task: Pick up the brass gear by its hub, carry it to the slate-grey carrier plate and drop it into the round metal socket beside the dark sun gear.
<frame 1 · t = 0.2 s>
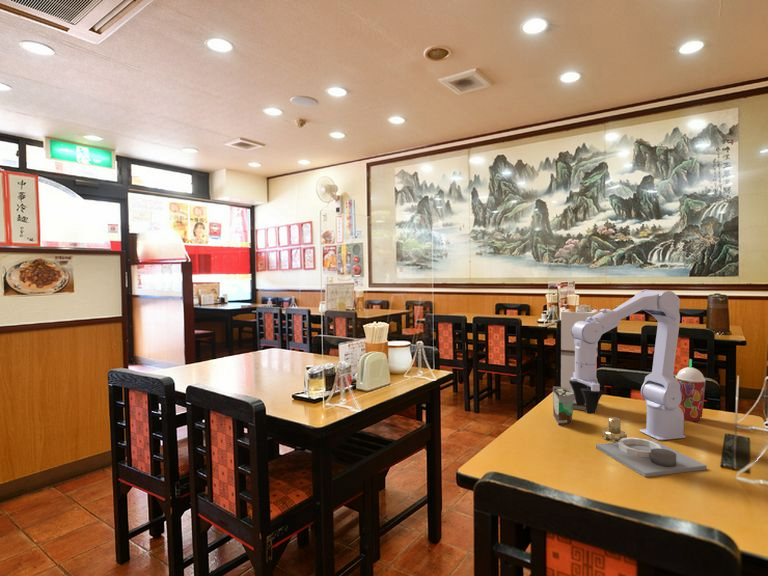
hand: (585, 408, 130), 10 cm above the table, tool pointing down, fingers open, 7 cm apart
white stepped column: (579, 405, 166), on the table
carrier plate: (648, 458, 120), on the table
smoothie: (689, 419, 150), on the table
food container: (565, 421, 149), on the table
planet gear: (614, 438, 134), on the table
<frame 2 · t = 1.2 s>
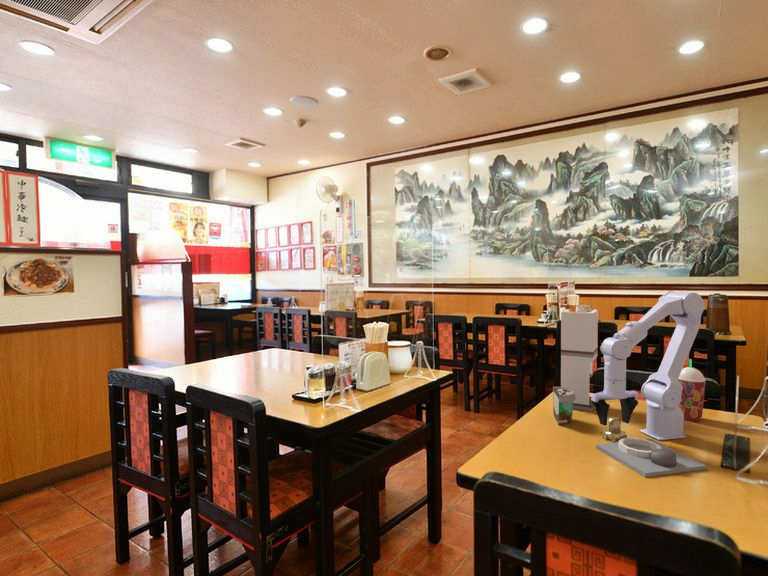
hand: (614, 423, 133), 5 cm above the table, tool pointing down, fingers open, 7 cm apart
nothing on the table moved.
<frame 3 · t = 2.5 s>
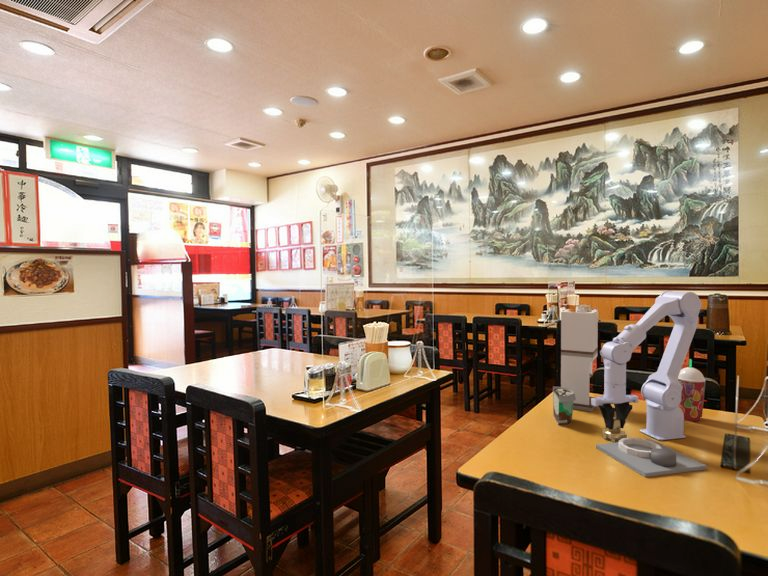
hand: (614, 427, 134), 3 cm above the table, tool pointing down, fingers closed on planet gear, 3 cm apart
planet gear: (614, 438, 134), on the table, touching gripper
everything else where it was.
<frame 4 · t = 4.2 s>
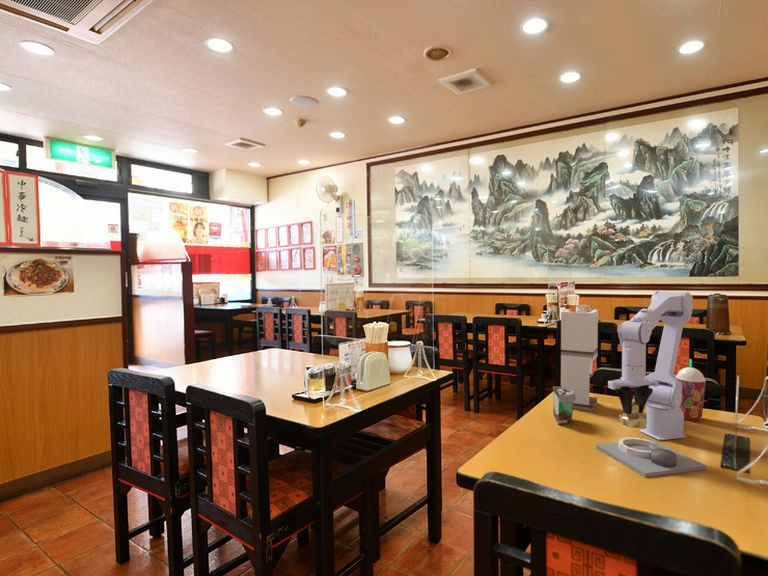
hand: (633, 412, 125), 10 cm above the table, tool pointing down, fingers closed on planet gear, 3 cm apart
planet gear: (632, 424, 125), point 7 cm above the table, touching gripper
everything else where it was.
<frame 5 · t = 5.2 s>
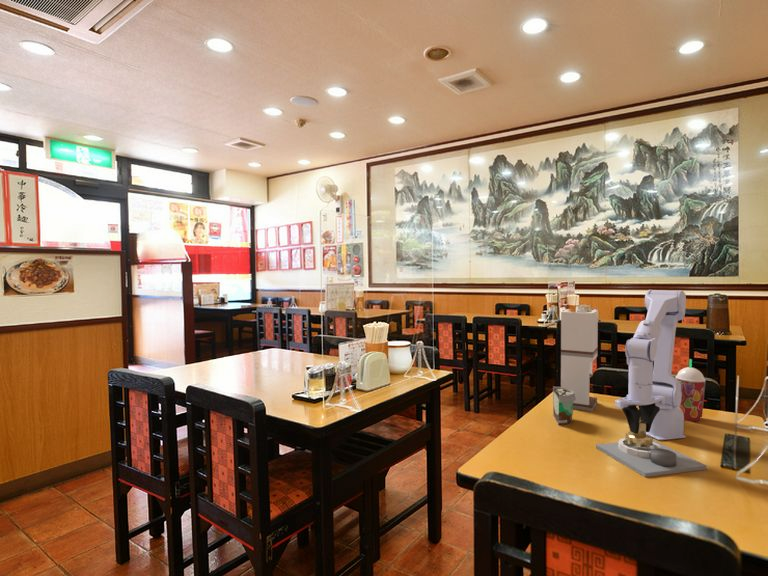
hand: (639, 431, 122), 6 cm above the table, tool pointing down, fingers closed on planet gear, 3 cm apart
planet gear: (638, 442, 123), point 3 cm above the table, touching gripper
everything else where it was.
when the fingers open (6 cm above the table, at t = 6.0 s): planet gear drops 1 cm, resting on carrier plate.
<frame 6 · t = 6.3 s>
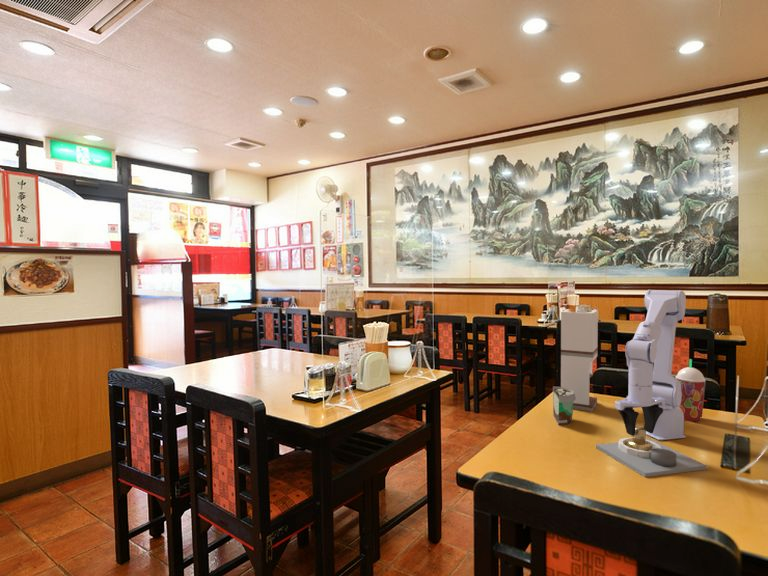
hand: (639, 433, 122), 6 cm above the table, tool pointing down, fingers open, 5 cm apart
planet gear: (638, 449, 123), point 1 cm above the table, touching carrier plate
everything else where it was.
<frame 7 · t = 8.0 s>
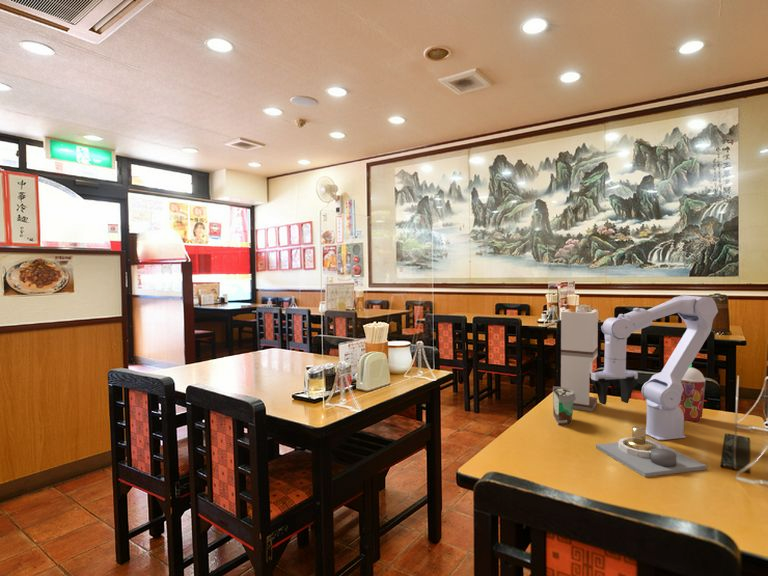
hand: (613, 402, 134), 10 cm above the table, tool pointing down, fingers open, 7 cm apart
nothing on the table moved.
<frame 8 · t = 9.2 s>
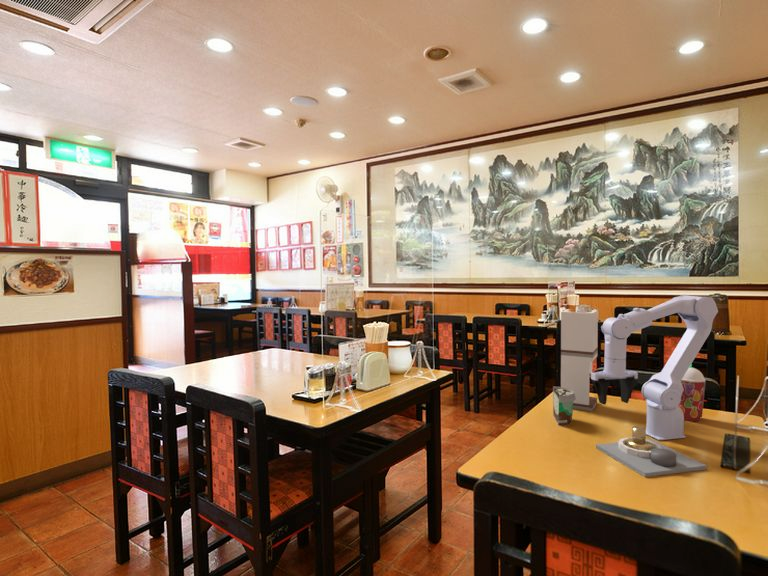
hand: (613, 402, 134), 10 cm above the table, tool pointing down, fingers open, 7 cm apart
nothing on the table moved.
at the end: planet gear 0.3 cm from the target spot on the carrier plate, point 1.0 cm above the carrier plate's base; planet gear tilted 0°; the gripper is holding nothing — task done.
